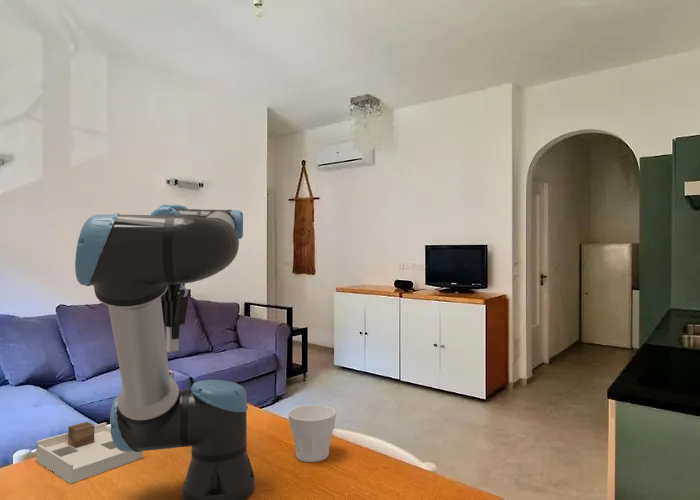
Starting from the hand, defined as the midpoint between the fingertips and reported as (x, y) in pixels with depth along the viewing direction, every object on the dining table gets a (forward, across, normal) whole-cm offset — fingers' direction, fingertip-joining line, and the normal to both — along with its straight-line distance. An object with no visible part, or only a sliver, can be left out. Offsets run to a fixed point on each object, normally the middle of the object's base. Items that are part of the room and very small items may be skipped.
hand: (172, 350), depth 122 cm
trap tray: (+26, +12, +16) cm, 33 cm away
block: (+23, +17, +16) cm, 33 cm away
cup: (+27, -32, -20) cm, 46 cm away
